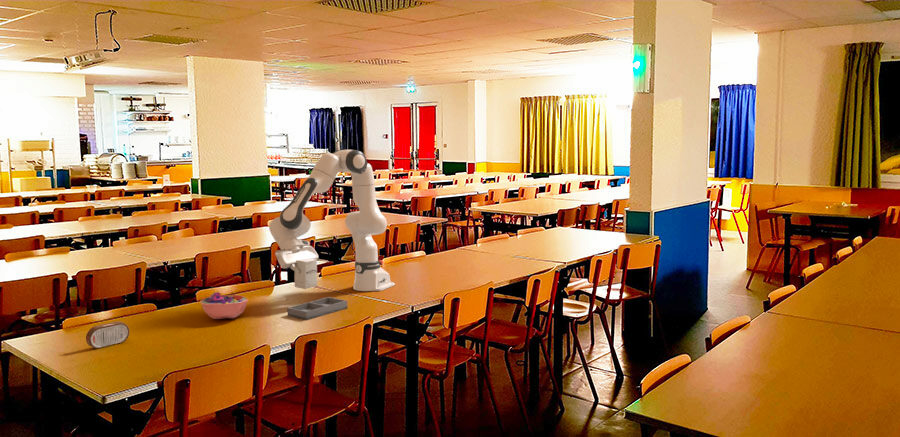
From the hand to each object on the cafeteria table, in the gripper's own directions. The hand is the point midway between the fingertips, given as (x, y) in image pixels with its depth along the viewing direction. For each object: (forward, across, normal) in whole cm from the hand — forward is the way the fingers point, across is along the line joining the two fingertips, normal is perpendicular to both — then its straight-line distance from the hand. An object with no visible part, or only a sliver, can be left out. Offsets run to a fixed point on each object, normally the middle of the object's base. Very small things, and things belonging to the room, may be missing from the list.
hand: (306, 271), depth 305 cm
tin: (0, -82, +23) cm, 86 cm away
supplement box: (+5, 0, +6) cm, 8 cm away
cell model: (+2, -34, +21) cm, 40 cm away
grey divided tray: (+20, -4, +3) cm, 20 cm away
